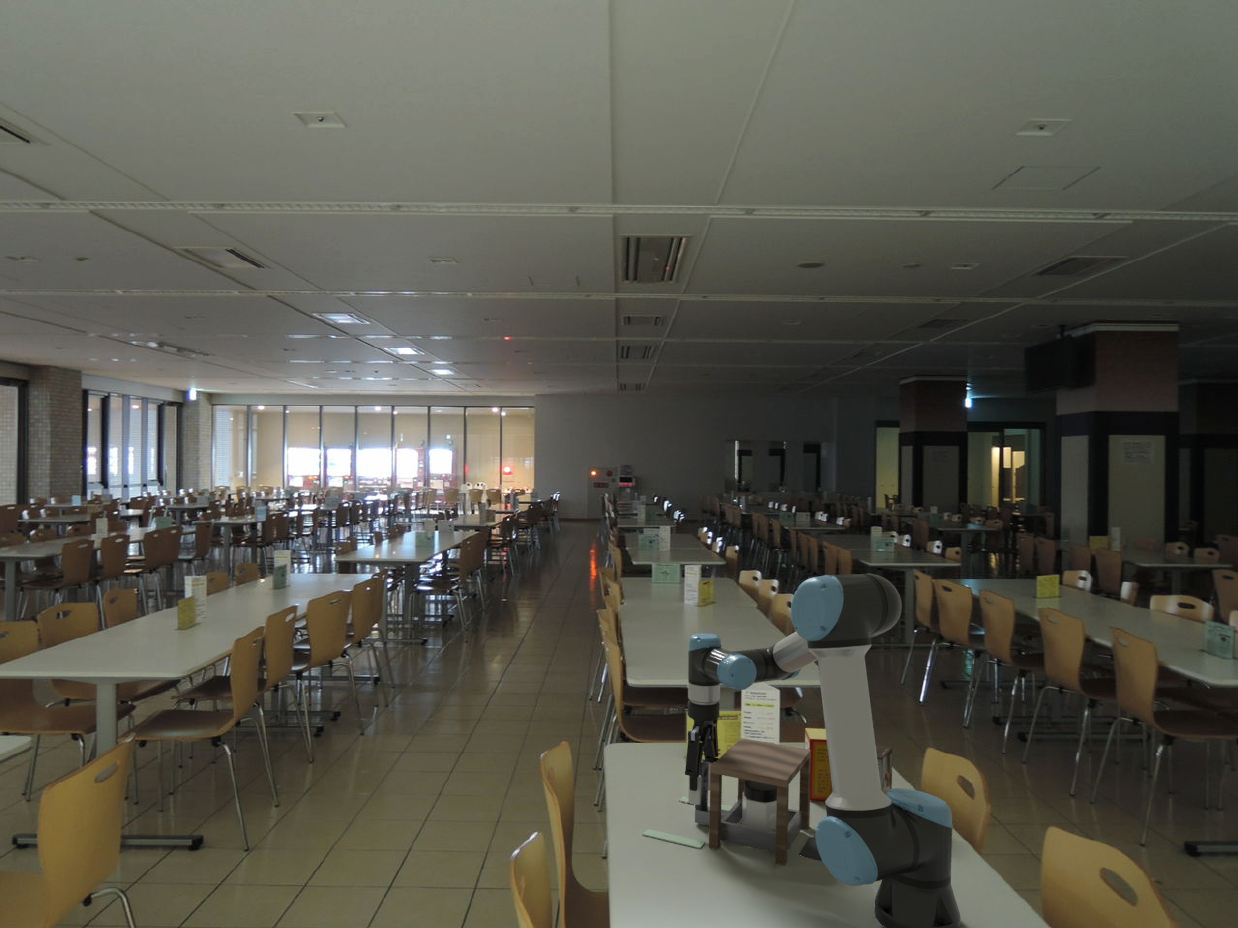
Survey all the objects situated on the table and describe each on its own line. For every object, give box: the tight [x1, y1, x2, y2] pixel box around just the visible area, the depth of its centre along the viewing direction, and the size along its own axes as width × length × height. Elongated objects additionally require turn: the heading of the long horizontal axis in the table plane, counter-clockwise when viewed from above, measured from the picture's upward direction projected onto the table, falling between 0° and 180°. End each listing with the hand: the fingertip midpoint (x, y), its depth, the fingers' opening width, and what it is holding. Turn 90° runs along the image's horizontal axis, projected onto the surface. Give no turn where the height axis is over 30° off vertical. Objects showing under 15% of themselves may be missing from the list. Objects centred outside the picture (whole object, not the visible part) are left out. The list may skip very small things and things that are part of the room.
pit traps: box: [798, 836, 823, 862], centre depth 181 cm, size 10×14×1 cm
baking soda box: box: [804, 727, 833, 803], centre depth 214 cm, size 10×6×16 cm
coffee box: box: [875, 744, 893, 796], centre depth 201 cm, size 9×6×16 cm
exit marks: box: [641, 795, 733, 850], centre depth 196 cm, size 25×14×1 cm, turn 154°
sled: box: [694, 758, 803, 854], centre depth 190 cm, size 15×24×14 cm, turn 64°
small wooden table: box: [708, 737, 811, 866], centre depth 188 cm, size 22×17×18 cm
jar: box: [741, 780, 777, 832], centre depth 188 cm, size 9×8×12 cm
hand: (701, 796), depth 195 cm, fingers open, 9 cm apart
